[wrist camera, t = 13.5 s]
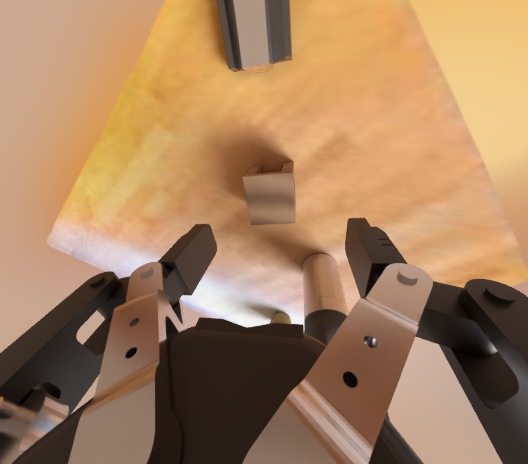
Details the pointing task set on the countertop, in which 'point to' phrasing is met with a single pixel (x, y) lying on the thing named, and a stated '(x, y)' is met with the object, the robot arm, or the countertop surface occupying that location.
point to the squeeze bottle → (280, 318)
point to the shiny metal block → (254, 35)
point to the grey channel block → (278, 26)
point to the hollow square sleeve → (270, 195)
